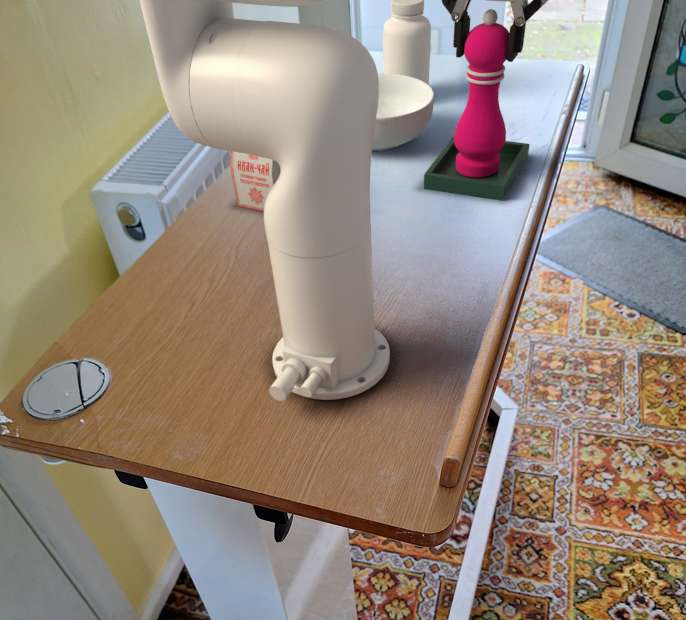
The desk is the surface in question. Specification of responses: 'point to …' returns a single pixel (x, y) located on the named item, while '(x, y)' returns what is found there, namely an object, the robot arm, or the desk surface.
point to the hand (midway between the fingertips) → (487, 54)
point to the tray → (493, 187)
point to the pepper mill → (482, 100)
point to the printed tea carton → (253, 179)
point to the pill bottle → (407, 40)
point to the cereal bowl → (401, 110)
